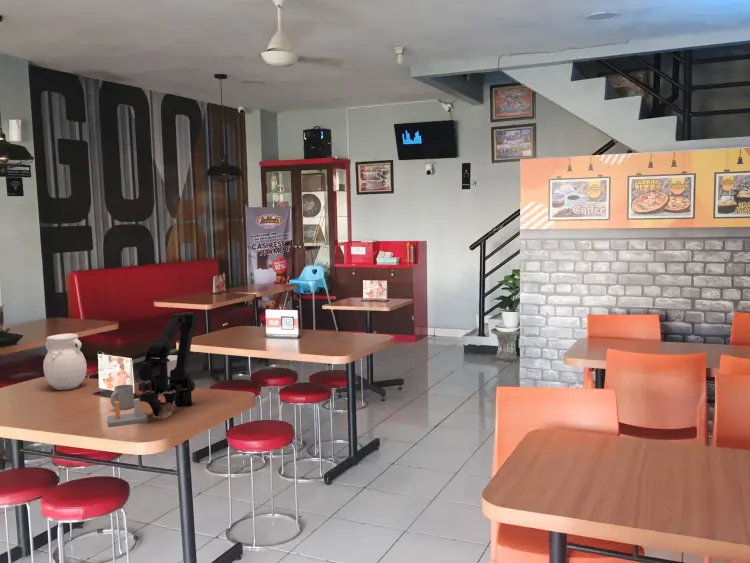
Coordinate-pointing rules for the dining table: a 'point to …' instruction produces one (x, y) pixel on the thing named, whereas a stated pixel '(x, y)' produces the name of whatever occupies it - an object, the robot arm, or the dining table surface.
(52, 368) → the white handled vase
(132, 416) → the pin board
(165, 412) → the sleeve
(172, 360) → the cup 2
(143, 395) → the robot arm
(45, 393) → the dining table surface
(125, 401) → the cup
